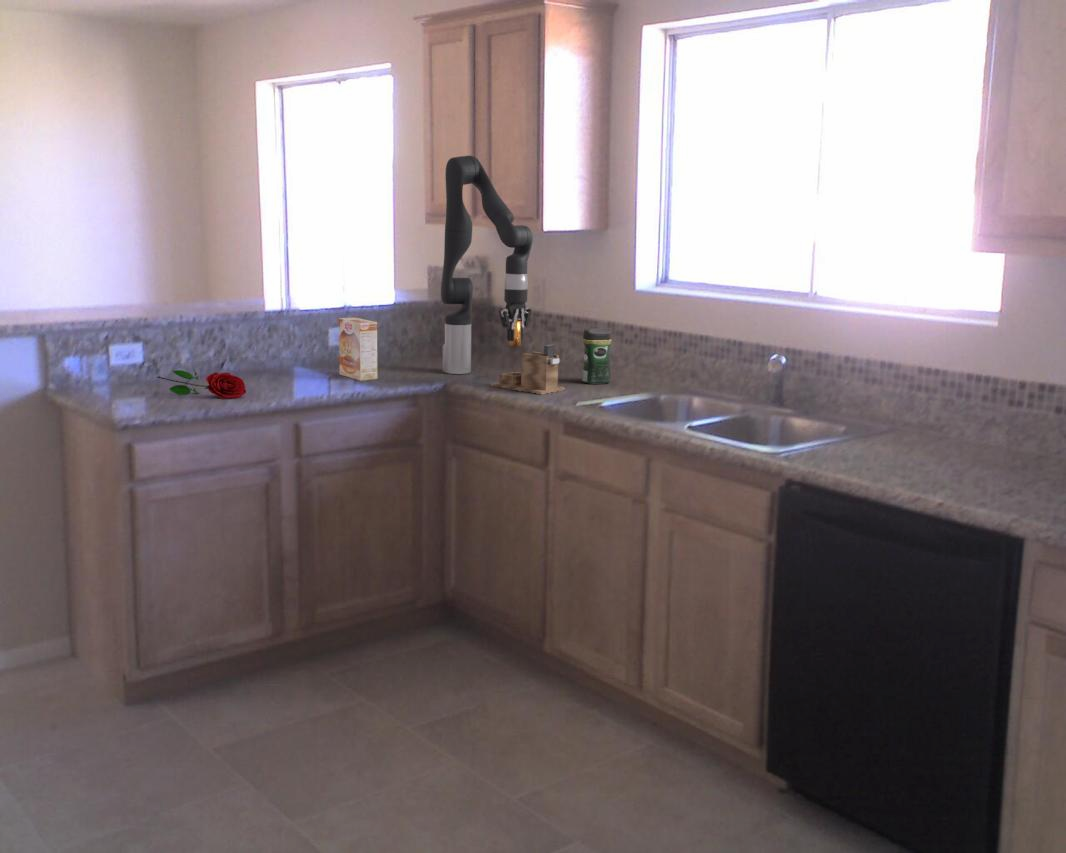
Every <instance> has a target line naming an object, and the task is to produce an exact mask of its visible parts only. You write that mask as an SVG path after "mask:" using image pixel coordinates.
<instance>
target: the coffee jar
mask: <svg viewBox="0 0 1066 853" xmlns="http://www.w3.org/2000/svg"><path fill="white" fill-rule="evenodd" d="M582 343H583V347H584V355H583V364H582V371H581V372H582V373H581V381H582V382H583V383H584V384H592V385H601V384H602V385H603V384H608V383H610V382H611V380H612V379H611V366H610V365H611V364H610V348H611V347H610V346H611V344H612V333H611V329H608V328H605V327H604V328H603V327H602V328H600V327H592V328H585V329H584V330H583V337H582Z"/></svg>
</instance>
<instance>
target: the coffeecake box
mask: <svg viewBox="0 0 1066 853" xmlns="http://www.w3.org/2000/svg"><path fill="white" fill-rule="evenodd" d="M338 344H339V345H338V347H339V348H338V350H339V352H338V353H339V354H338V356H339V357H338V358H339V362H338V363H339V375H341V376H343V377H344V376H345V377H347V378H351V379H354V380H357V381H371V380H378V322H377V321H373V320H369V319H363V318H359V317H339V318H338Z"/></svg>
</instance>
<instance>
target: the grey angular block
mask: <svg viewBox="0 0 1066 853" xmlns="http://www.w3.org/2000/svg"><path fill="white" fill-rule="evenodd" d="M555 347H556V346H555V344H543V353H544V356H547V357H548V364H557V363H558V364H560V362H561V359H560V358H555V357H554V355H555V350H556V349H555ZM533 355H534V354H533ZM540 356H541V355H540Z"/></svg>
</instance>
